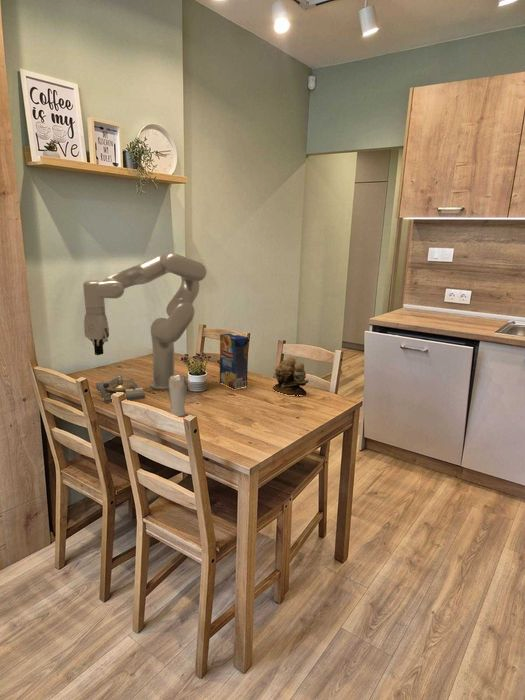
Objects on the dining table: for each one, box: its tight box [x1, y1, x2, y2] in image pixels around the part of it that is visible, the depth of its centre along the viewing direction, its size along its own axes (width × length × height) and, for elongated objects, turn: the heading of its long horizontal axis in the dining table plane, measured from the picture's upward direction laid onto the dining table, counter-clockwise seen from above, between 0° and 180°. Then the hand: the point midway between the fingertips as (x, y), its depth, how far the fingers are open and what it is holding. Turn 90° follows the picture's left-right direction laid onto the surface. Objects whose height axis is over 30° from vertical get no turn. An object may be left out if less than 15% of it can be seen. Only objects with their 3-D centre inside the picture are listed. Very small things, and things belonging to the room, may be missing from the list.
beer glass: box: [167, 374, 188, 418], centre depth 171 cm, size 7×7×15 cm
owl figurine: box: [272, 356, 310, 397], centre depth 202 cm, size 18×12×17 cm, turn 53°
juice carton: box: [219, 332, 249, 389], centre depth 206 cm, size 12×8×24 cm, turn 39°
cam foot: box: [103, 374, 134, 393], centre depth 192 cm, size 18×12×6 cm
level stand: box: [95, 378, 146, 403], centre depth 195 cm, size 16×24×4 cm, turn 28°
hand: (99, 354), depth 187 cm, fingers closed
